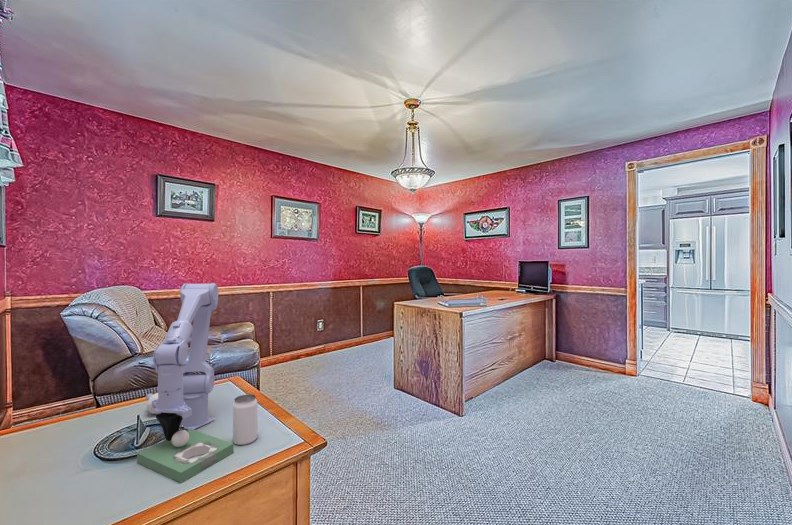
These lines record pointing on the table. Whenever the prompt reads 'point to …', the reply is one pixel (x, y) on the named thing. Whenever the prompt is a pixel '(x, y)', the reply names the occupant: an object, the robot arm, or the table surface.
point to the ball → (180, 438)
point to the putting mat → (185, 456)
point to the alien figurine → (151, 398)
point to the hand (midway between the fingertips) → (171, 438)
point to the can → (245, 419)
